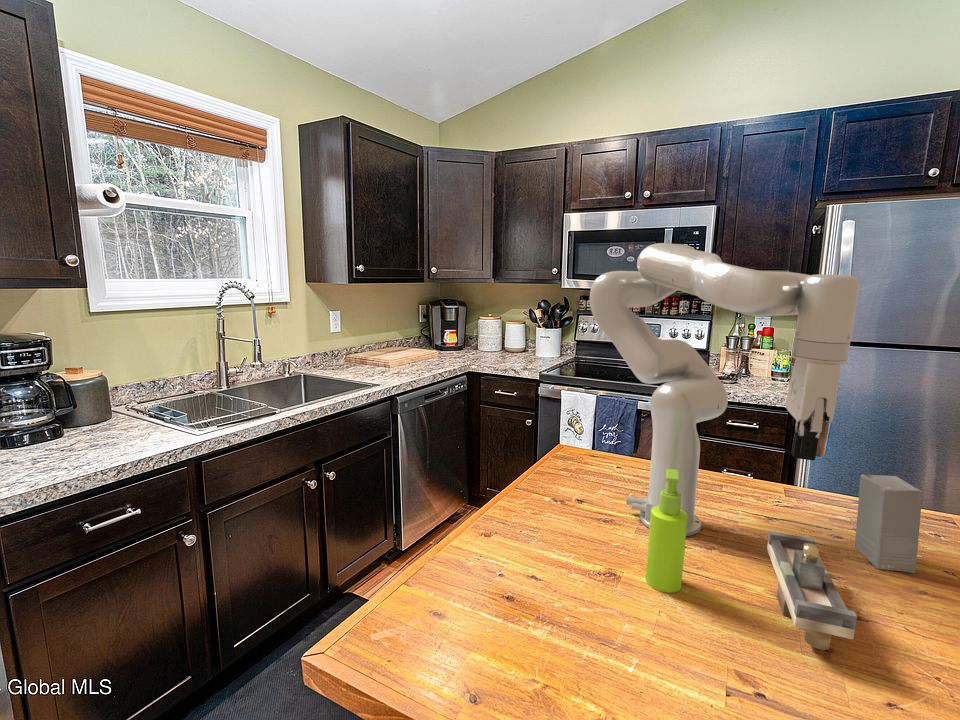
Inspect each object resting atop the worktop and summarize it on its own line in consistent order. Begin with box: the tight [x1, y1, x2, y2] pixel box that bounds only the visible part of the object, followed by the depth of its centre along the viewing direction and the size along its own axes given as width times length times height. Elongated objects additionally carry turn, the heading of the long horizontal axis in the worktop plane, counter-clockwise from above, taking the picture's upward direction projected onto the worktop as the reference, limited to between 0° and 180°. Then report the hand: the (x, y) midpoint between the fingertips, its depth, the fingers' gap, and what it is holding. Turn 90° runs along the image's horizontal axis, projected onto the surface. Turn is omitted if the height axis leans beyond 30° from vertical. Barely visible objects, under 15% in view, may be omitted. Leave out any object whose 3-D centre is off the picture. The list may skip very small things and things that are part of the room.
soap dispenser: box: [645, 468, 688, 593], centre depth 86 cm, size 6×7×20 cm
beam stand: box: [766, 530, 858, 651], centre depth 80 cm, size 7×22×8 cm, turn 159°
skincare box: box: [854, 474, 924, 574], centre depth 94 cm, size 8×7×16 cm
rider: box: [792, 543, 826, 591], centre depth 78 cm, size 3×4×6 cm
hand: (802, 457), depth 84 cm, fingers closed
